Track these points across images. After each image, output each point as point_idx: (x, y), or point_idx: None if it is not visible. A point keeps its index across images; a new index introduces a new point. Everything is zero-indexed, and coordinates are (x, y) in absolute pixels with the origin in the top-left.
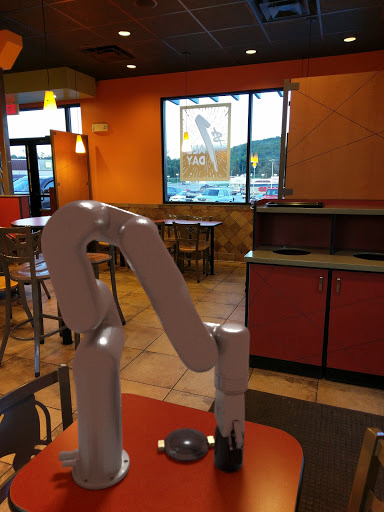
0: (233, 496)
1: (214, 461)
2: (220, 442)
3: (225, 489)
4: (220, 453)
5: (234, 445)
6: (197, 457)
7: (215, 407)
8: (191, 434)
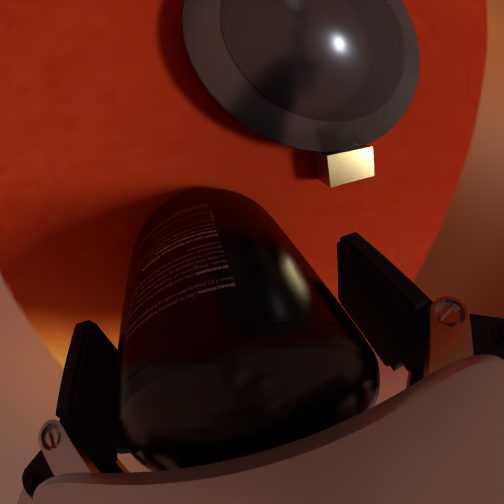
0: (43, 291)
1: (174, 201)
2: (122, 359)
3: (56, 262)
4: (128, 290)
5: (25, 485)
6: (209, 91)
7: (495, 497)
8: (383, 63)
